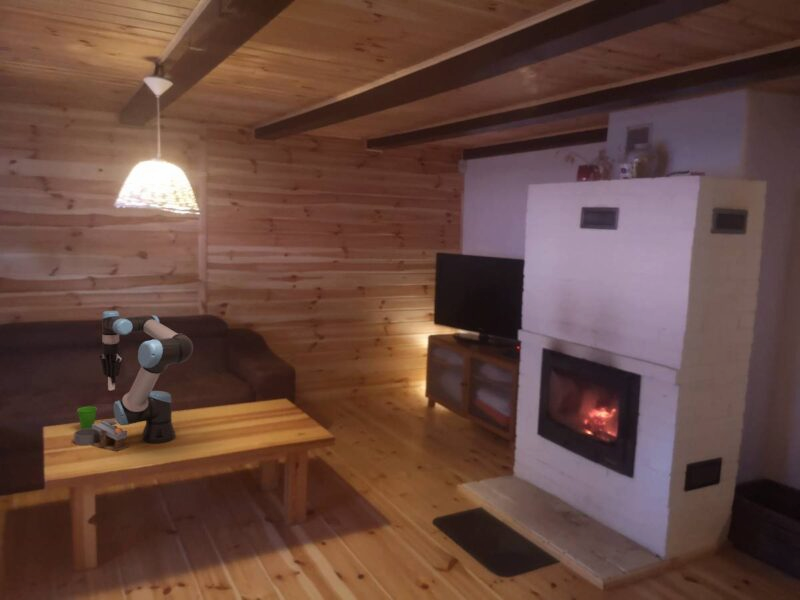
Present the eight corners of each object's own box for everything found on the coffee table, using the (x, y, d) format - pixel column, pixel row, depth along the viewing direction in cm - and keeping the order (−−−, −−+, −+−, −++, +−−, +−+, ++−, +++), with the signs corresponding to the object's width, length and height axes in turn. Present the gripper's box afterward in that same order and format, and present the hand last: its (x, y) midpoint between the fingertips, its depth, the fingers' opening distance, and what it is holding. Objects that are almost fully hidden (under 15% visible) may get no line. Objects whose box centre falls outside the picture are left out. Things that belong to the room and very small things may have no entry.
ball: (124, 434, 294) (124, 427, 293) (118, 437, 291) (118, 429, 290) (118, 433, 295) (118, 426, 295) (112, 435, 292) (112, 428, 291)
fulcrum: (130, 446, 297) (130, 428, 296) (115, 452, 288) (115, 434, 287) (104, 440, 302) (104, 423, 301) (89, 446, 294) (89, 428, 293)
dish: (106, 439, 304) (106, 430, 303) (86, 446, 293) (86, 437, 293) (88, 435, 308) (88, 426, 307) (69, 442, 297) (68, 433, 297)
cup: (89, 434, 310) (89, 412, 309) (73, 432, 312) (72, 410, 310) (101, 428, 319) (101, 407, 317) (85, 426, 321) (85, 405, 319)
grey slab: (136, 433, 300) (137, 427, 300) (117, 440, 290) (118, 434, 289) (110, 421, 306) (111, 415, 305) (91, 427, 295) (92, 422, 295)
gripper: (127, 342, 309) (127, 389, 311) (107, 339, 313) (107, 386, 316) (114, 345, 302) (115, 393, 305) (94, 342, 307) (95, 389, 309)
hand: (111, 389), depth 310 cm, fingers closed
